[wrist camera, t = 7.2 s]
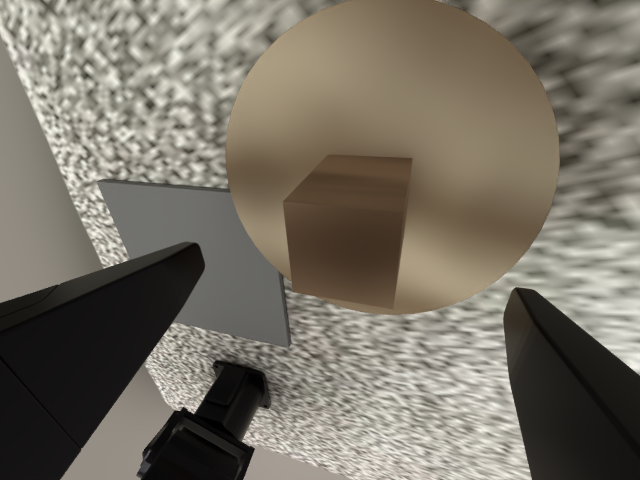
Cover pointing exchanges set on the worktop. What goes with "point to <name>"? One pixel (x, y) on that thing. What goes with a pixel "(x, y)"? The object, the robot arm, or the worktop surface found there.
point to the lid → (392, 155)
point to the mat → (205, 255)
